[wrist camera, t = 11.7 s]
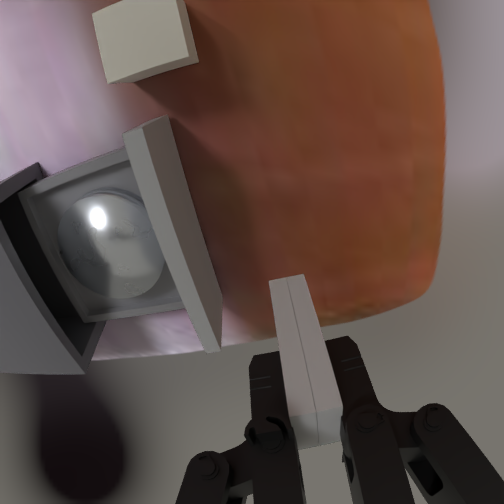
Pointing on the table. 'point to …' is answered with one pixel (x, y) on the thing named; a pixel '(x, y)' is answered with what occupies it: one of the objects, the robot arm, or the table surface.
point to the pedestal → (143, 39)
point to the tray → (162, 219)
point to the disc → (110, 243)
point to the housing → (35, 297)
